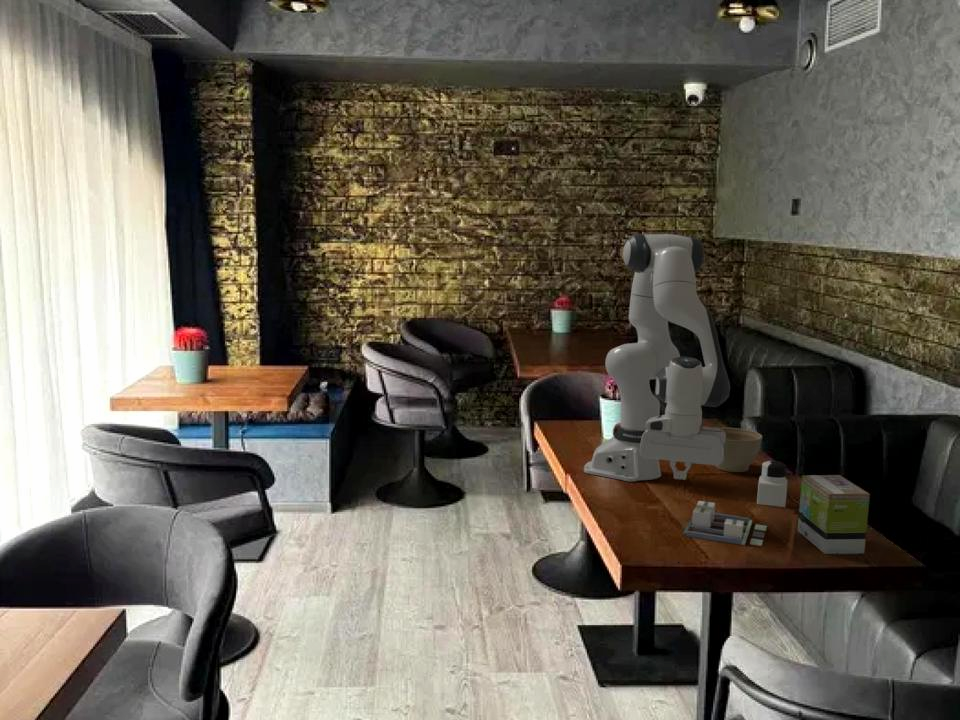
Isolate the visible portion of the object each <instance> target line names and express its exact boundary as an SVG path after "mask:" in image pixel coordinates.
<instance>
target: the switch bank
mask: <svg viewBox="0 0 960 720" xmlns="http://www.w3.org/2000/svg"><path fill="white" fill-rule="evenodd" d="M692 517H693V515H692V516H691V517H690V519H689V521H688V522H687V525H686V527H685V529H684V530H683V532H682V536H683V537H688V538H694V539H700V540H701V539H702V540H708V541H715V542H719V543H720V542H722V543H727V544H735V545H740V546H745V545H746V543H747V540H748V537H749V535H750V530H751V528H752V524H753V520H752V519H750V517H745V516H744V517H742V516H739V515H738V516H737V515H730V514H724V513H716V512H715V513H714V520H715V519H717V520H723V521H726V519H733V520H740V521H744V524H747V525H746V526H745V525H744V528H743V531H745V532H743V538H742V539H738V538H731V537H725V536H723V535H724V529H719V528H711V527H710V528H705V527H698V526H692ZM714 520H713V521H711V526H716V527H723V528H724V523H725V522H721V521H720V522H719V521H714ZM767 528H768V525H763V524H755V526H754V529H753V533H752V535H751V536H752V537H751V539H750V542H749V545H752V546H759V547H762V546H763V542H764V540H763V539H765V534H766V533H765V532H766V531H767ZM691 530H693V531H691ZM697 531H699V532H697ZM700 531H701V532H700ZM704 532H707V533H704ZM710 533H712V534H710ZM713 533H714V534H713ZM716 534H717V535H716ZM718 534H720V535H718Z"/></svg>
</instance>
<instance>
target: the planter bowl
mask: <svg viewBox="0 0 960 720" xmlns="http://www.w3.org/2000/svg"><path fill="white" fill-rule="evenodd" d="M719 428H720V429H722V430H723V431H724V432H725V434H726V442H725V444H724V445H723V450H724V460H723V462H722V464H720V465H719V466H715V467H716V468H717V469H719V470H721V471H725V472H729V473H730V472H731V473H743V472H748V470H749V469H750V466H751V464H753V463H754V461H755V460H756V459H757V456H758V455H759V453H760V450H761V444H762V440H763V435H762V434H761V433H758V432H756V431H753V430H750V429H743V428H737V427H736V428H735V427H719ZM720 432H722V431H720Z"/></svg>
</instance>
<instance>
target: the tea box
mask: <svg viewBox="0 0 960 720" xmlns="http://www.w3.org/2000/svg"><path fill="white" fill-rule="evenodd" d="M800 483H801V485H800V495H799V496H800V498H799V508H798V509H799V510H798V519H797V520H798V521H797V533H800V534H801V535H803V537H804V538H806V540H808V541H809V542H810V543H811V544H813V546H815V547H816V548H817V549H818V550H819V551H820V552H822V554H824V555H858V554H859V555H862V554H865V548H866V538H867V527H868V518H869V507H870V497H871V494H870V493H869V492H867V491H866V490H864V489H863V488H861V487H860V486H858V485H856V484H854V483H853V482H851V481H850V480H848V479H847V478H845V477H843V476H842V475H840V474H820V475H819V474H818V475H817V474H811V475H807V474H806V475H803V474H802V476H801V482H800ZM837 553H838V554H837Z"/></svg>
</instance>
